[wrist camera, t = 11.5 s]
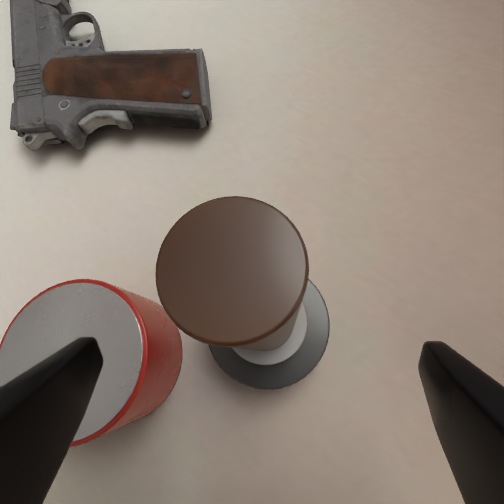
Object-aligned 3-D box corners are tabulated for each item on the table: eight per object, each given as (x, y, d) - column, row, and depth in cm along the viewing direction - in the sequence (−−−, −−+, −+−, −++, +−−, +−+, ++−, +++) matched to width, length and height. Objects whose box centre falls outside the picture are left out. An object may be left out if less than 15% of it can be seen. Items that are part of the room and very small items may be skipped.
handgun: (155, -102, 28) (-7, -54, 27) (219, 101, 20) (0, 166, 20) (166, -62, 30) (18, -19, 30) (226, 130, 23) (32, 188, 23)
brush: (335, 370, 18) (486, 424, 4) (227, 394, 18) (62, 514, 5) (307, 265, 20) (353, 82, 6) (209, 288, 20) (53, 155, 6)
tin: (191, 408, 18) (156, 428, 13) (68, 435, 18) (-12, 465, 13) (173, 284, 20) (138, 262, 15) (63, 310, 20) (-7, 296, 15)
